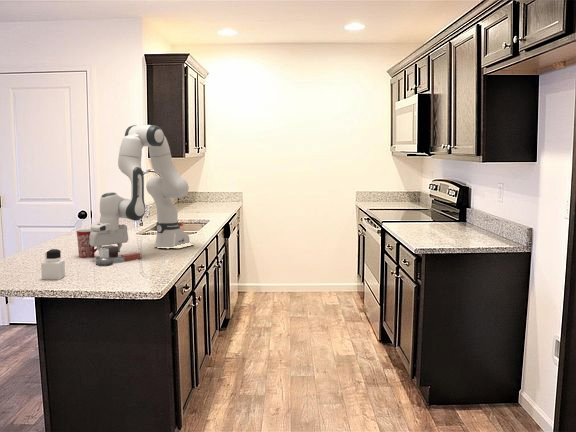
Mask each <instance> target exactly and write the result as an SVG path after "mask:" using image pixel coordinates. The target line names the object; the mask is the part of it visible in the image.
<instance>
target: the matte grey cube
mask: <svg viewBox="0 0 576 432" xmlns="http://www.w3.org/2000/svg"><path fill="white" fill-rule="evenodd" d="M102 248H108V249H109V257H112V258H114V257H119V252H118V245H117V246H116V245H114V244H112V245H104V246H102Z"/></svg>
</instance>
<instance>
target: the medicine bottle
mask: <svg viewBox="0 0 576 432" xmlns="http://www.w3.org/2000/svg"><path fill="white" fill-rule="evenodd" d="M61 255H62V254H61V250H60V249H57V248H50V249H47V250H45V251H44V261H43V262H41V264H40V265H41V268H40V269H41V280H45V281H47V280H50V281H51V280H52V281H59V280H60V279H62V278H64V277H66V276H65V275H66V272H65V271H66V270H65V269H66V267H65V266H66V265H65V259H62V258H61Z"/></svg>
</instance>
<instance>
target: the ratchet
mask: <svg viewBox="0 0 576 432" xmlns="http://www.w3.org/2000/svg"><path fill="white" fill-rule="evenodd" d="M99 254H100V255H99ZM98 255H99V256H98V257H95V266H99V267H108V266H112V265H113V264H118V263H124V262H131V261H136V259H138V260H141V253H139V252H132V253H125V254H121V255H120V256H118V257H114V258H112V257H109V249H108V248H101V249H99V251H98Z"/></svg>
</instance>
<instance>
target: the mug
mask: <svg viewBox="0 0 576 432" xmlns="http://www.w3.org/2000/svg"><path fill="white" fill-rule="evenodd" d="M91 231H93V230H91V228H82V229H80V228H79V229H76V231H75V232H76V237H77V249H78V250H77V251H78V257H79V258H83V259H85V258H86V259H87V258H93V257H94V256H95V253H96V252H97V251H98V249H97V247H96V248H95V247H93V246H91V245H90V241H89V240H90V233H91Z"/></svg>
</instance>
